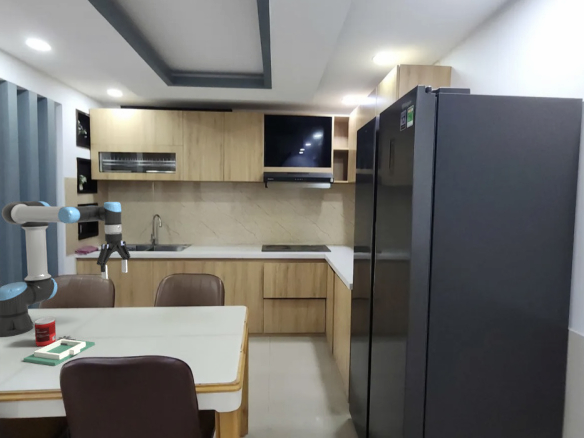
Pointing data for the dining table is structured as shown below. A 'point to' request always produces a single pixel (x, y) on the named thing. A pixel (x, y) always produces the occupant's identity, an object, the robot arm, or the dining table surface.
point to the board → (58, 351)
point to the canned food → (45, 331)
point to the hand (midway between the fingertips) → (115, 275)
